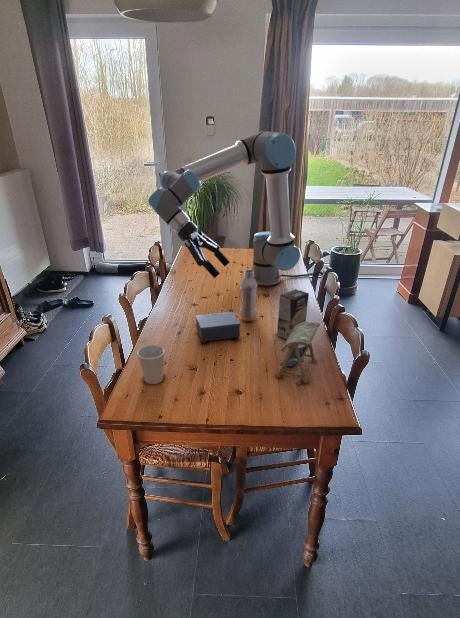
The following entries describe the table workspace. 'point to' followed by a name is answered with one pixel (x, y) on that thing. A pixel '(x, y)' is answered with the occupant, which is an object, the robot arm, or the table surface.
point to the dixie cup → (151, 363)
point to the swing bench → (297, 354)
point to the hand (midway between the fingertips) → (222, 270)
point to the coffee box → (291, 311)
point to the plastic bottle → (248, 296)
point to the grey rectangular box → (218, 326)
